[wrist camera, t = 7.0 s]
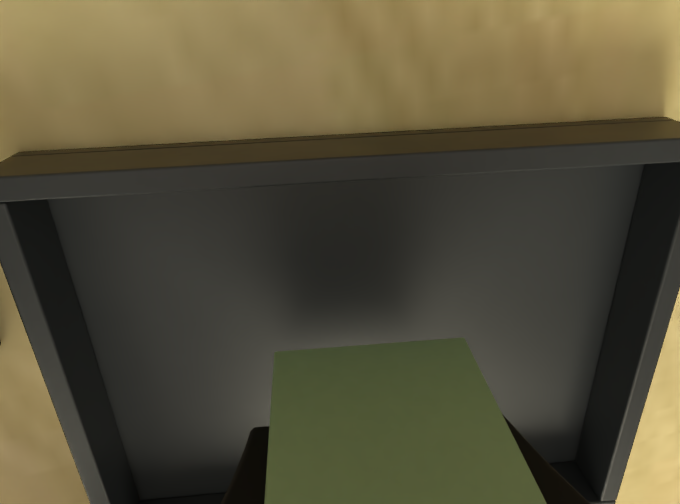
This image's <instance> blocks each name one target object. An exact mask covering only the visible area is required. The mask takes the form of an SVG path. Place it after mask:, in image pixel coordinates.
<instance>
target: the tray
mask: <svg viewBox="0 0 680 504" xmlns="http://www.w3.org/2000/svg"><path fill="white" fill-rule="evenodd" d="M0 263H1V266H2V268H3V271H4V274H5V276H6V279H7V282H8V285H9V287H10V290H11V293H12V295H13V298H14V301H15V303H16V306H17V309H18V311H19V314H20V317H21V319H22V322H23V325H24V327H25V330H26V333H27V335H28V338H29V341H30V343H31V346H32V349H33V351H34V354H35V357H36V360H37V362H38V365H39V368H40V370H41V373H42V376H43V378H44V381H45V384H46V386H47V389H48V392H49V394H50V397H51V400H52V402H53V405H54V408H55V410H56V413H57V416H58V418H59V421H60V424H61V426H62V429H63V432H64V435H65V437H66V440H67V443H68V445H69V448H70V451H71V453H72V456H73V459H74V461H75V464H76V467H77V469H78V472H79V475H80V477H81V480H82V483H83V485H84V488H85V491H86V493H87V496H88V499H89V501H90V504H221V502H222V500H223V498H224V496H225V494H226V491H227V489H228V487H229V485H230V483H231V481H232V479H233V476H234V474H235V472H236V469H237V467H238V464H239V462H240V459H241V457H242V454H243V452H244V449H245V446H246V443H247V440H248V437H249V433H250V431H251V430H252V429H253V428H254V427H264V426H269V424H270V409H271V394H272V379H273V363H274V353H275V352H278V351H291V350H304V349H317V348H331V347H344V346H357V345H370V344H384V343H397V342H410V341H423V340H437V339H450V338H465V340H466V342H467V344H468V346H469V348H470V350H471V352H472V354H473V356H474V358H475V360H476V362H477V364H478V366H479V368H480V370H481V372H482V374H483V376H484V378H485V380H486V382H487V384H488V386H489V388H490V390H491V392H492V394H493V396H494V398H495V400H496V402H497V405H498V407H499V409H500V411H501V413H502V414H503V415H504V416H505V417H506V418H507V419H508V421H509V422H510V423H511V424H512V425H513V426H514V427H515V428H516V429H517V430H518V432H519V433H520V434H521V435H522V436H523V437H524V438H525V439H526V440H527V441H528V442H529V443H530V444H531V445H532V447H533V448H534V449H535V450H536V451H537V452H538V453H539V454H540V455H541V456H542V457H543V458H544V459H545V460H546V461H547V462H548V463H549V464H550V465H551V466H552V467H553V468H554V469H555V470H556V471H557V472H558V473H559V474H560V475H561V476H562V477H563V478H564V479H565V480H566V481H567V482H568V483H569V484H570V485H571V486H572V487H573V488H574V489H575V490H576V491H577V492H579V493H580V494H581V495H582V496H583V497H584V498H585V499H586V500H587V501H588V502H589V503H591V504H615V502H616V501H615V500H616V499H617V496H618V492H619V489H620V486H621V482H622V479H623V476H624V472H625V469H626V465H627V462H628V459H629V455H630V452H631V449H632V445H633V442H634V439H635V435H636V432H637V429H638V425H639V422H640V419H641V415H642V412H643V409H644V405H645V402H646V399H647V395H648V392H649V389H650V385H651V382H652V378H653V375H654V372H655V368H656V365H657V362H658V358H659V355H660V352H661V348H662V345H663V342H664V338H665V335H666V332H667V328H668V325H669V322H670V318H671V315H672V312H673V308H674V305H675V302H676V298H677V295H678V292H679V288H680V122H679V121H675V120H673V119H670V118H667V117H658V118H640V119H621V120H603V121H585V122H566V123H548V124H529V125H511V126H493V127H474V128H456V129H437V130H419V131H401V132H382V133H364V134H346V135H327V136H309V137H290V138H272V139H254V140H235V141H217V142H198V143H180V144H162V145H143V146H125V147H107V148H88V149H70V150H51V151H33V152H18V153H16V154H14V155H12V156H11V157H9V158H7V159H5V160H4V161H2V162H0Z"/></svg>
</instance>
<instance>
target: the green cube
mask: <svg viewBox="0 0 680 504" xmlns="http://www.w3.org/2000/svg"><path fill="white" fill-rule="evenodd" d="M264 504H547V503H546V501H545V499H544V497H543V495H542V493H541V491H540V489H539V487H538V485H537V483H536V481H535V479H534V477H533V475H532V473H531V471H530V469H529V467H528V465H527V463H526V461H525V459H524V457H523V455H522V453H521V451H520V449H519V447H518V445H517V443H516V441H515V439H514V437H513V435H512V433H511V431H510V429H509V427H508V425H507V423H506V421H505V419H504V417H503V415H502V413H501V411H500V409H499V407H498V405H497V402H496V400H495V398H494V396H493V394H492V392H491V390H490V388H489V386H488V384H487V382H486V380H485V378H484V376H483V374H482V372H481V370H480V368H479V366H478V364H477V362H476V360H475V358H474V356H473V354H472V352H471V350H470V348H469V346H468V344H467V342H466V340H465V338H450V339H437V340H423V341H410V342H397V343H384V344H370V345H357V346H344V347H331V348H317V349H304V350H291V351H278V352H275V353H274V363H273V379H272V394H271V409H270V424H269V440H268V455H267V470H266V485H265V500H264Z"/></svg>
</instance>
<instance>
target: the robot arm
mask: <svg viewBox="0 0 680 504" xmlns="http://www.w3.org/2000/svg"><path fill="white" fill-rule="evenodd" d="M502 415H503V414H502ZM503 417H504V419H505V421H506V423H507V425H508V427H509V429H510V431H511V433H512V435H513V437H514V439H515V441H516V443H517V445H518V447H519V449H520V451H521V453H522V455H523V457H524V459H525V461H526V463H527V465H528V467H529V469H530V471H531V473H532V475H533V477H534V479H535V481H536V483H537V485H538V487H539V489H540V491H541V493H542V495H543V497H544V499H545V501H546V503H547V504H591V503H589V502H588V501H587V500H586V499H585V498H584V497H583V496H582V495H581V494H580V493H579V492H577V491H576V490H575V489H574V488H573V487H572V486H571V485H570V484H569V483H568V482H567V481H566V480H565V479H564V478H563V477H562V476H561V475H560V474H559V473H558V472H557V471H556V470H555V469H554V468H553V467H552V466H551V465H550V464H549V463H548V462H547V461H546V460H545V459H544V458H543V457H542V456H541V455H540V454H539V453H538V452H537V451H536V450H535V449H534V448H533V447H532V445H531V444H530V443H529V442H528V441H527V440H526V439H525V438H524V437H523V436H522V435H521V434H520V433H519V432H518V430H517V429H516V428H515V427H514V426H513V425H512V424H511V423H510V422H509V421H508V419H507V418H506V417H505V416H504V415H503ZM268 440H269V426H264V427H254V428H253V429H252V430H251V431H250V433H249V437H248V440H247V443H246V446H245V449H244V452H243V454H242V457H241V459H240V462H239V464H238V467H237V469H236V472H235V474H234V476H233V479H232V481H231V483H230V485H229V487H228V489H227V491H226V494H225V496H224V498H223V500H222V502H221V504H264V500H265V485H266V470H267V455H268Z"/></svg>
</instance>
